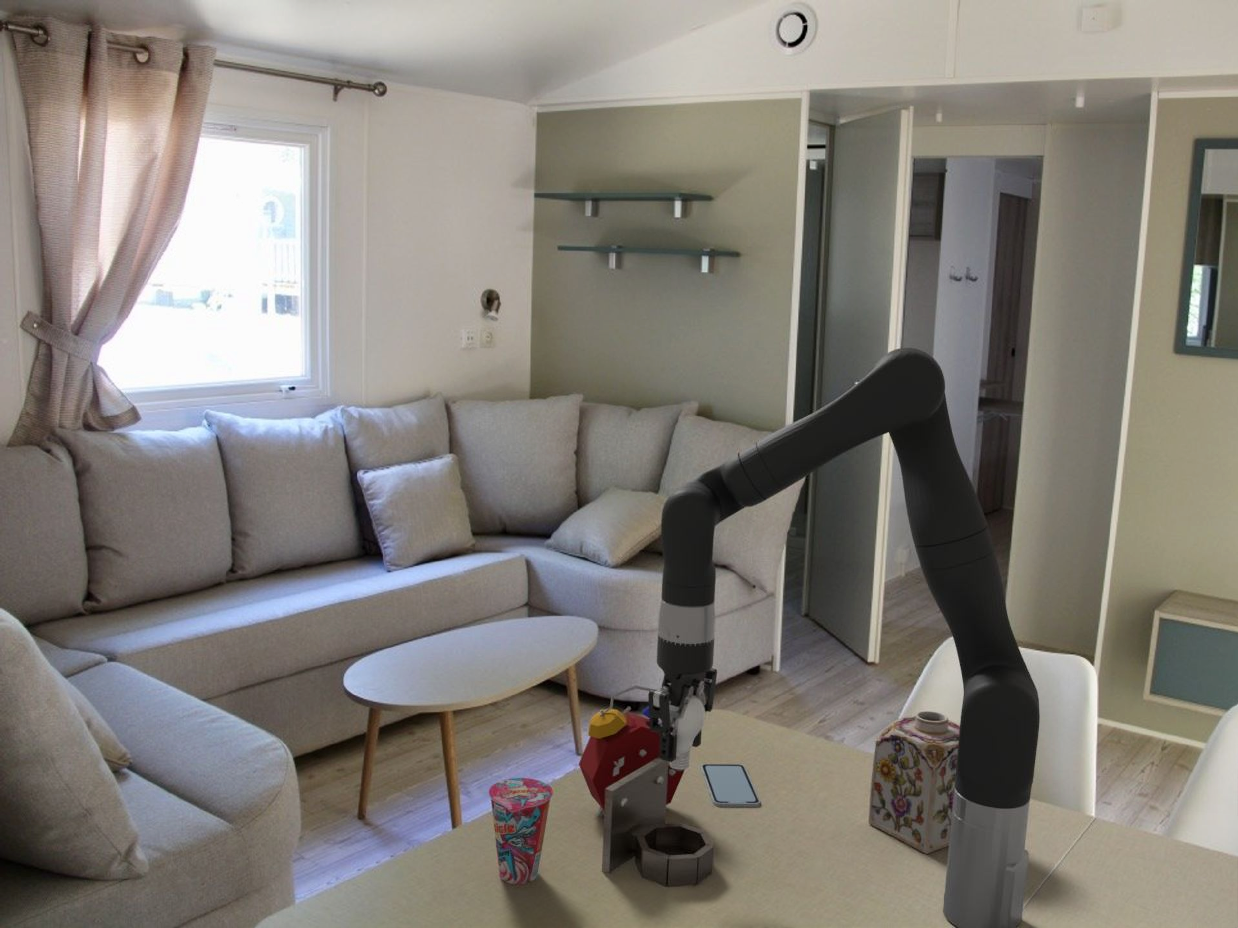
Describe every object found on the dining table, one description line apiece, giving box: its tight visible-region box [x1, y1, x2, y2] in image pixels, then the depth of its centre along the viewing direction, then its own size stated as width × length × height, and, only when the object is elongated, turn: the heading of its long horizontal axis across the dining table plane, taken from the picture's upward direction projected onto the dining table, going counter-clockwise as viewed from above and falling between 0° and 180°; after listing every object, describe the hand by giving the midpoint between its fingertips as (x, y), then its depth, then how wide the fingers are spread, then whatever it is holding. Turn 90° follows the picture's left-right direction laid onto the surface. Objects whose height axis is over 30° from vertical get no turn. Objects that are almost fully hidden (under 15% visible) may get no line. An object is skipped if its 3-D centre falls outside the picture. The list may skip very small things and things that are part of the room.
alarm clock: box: [578, 685, 686, 818], centre depth 182 cm, size 15×9×20 cm, turn 111°
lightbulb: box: [658, 695, 706, 771], centre depth 166 cm, size 6×6×11 cm
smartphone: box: [700, 763, 761, 808], centre depth 196 cm, size 7×1×15 cm
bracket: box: [601, 757, 715, 888], centre depth 169 cm, size 12×14×12 cm
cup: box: [488, 777, 554, 885], centre depth 164 cm, size 9×8×12 cm
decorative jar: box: [868, 710, 960, 855], centre depth 182 cm, size 12×12×18 cm
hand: (680, 751), depth 166 cm, fingers closed on lightbulb, 6 cm apart
